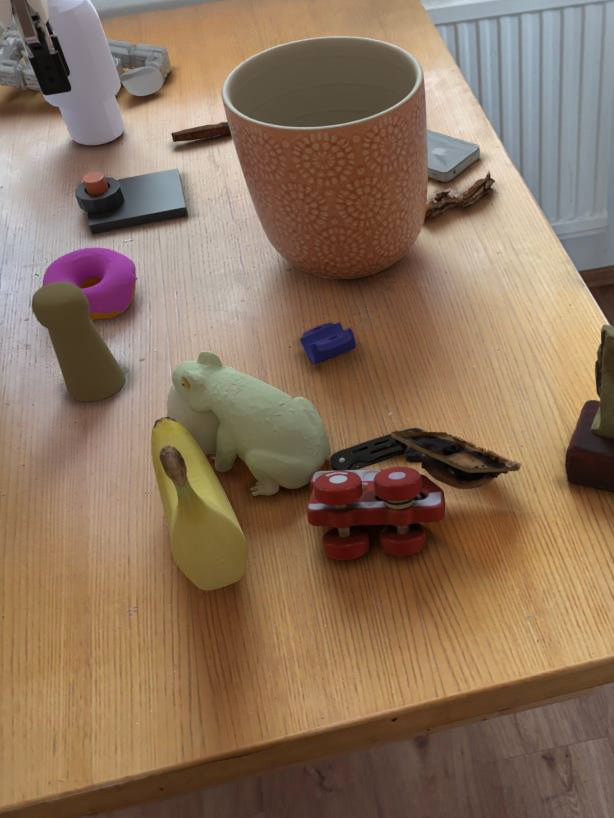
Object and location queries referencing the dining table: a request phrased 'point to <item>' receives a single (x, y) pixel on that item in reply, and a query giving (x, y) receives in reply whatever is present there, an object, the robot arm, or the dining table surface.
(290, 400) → the figurine
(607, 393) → the small statue on base
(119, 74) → the architectural model
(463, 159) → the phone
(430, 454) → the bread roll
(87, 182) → the button
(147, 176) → the push button panel
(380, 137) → the planter
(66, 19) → the soap bottle
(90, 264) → the donut
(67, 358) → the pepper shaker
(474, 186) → the tree bark
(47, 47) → the robot arm
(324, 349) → the bracket
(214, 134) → the kitchen knife
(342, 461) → the folding knife
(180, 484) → the banana
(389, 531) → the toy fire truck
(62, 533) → the dining table surface
